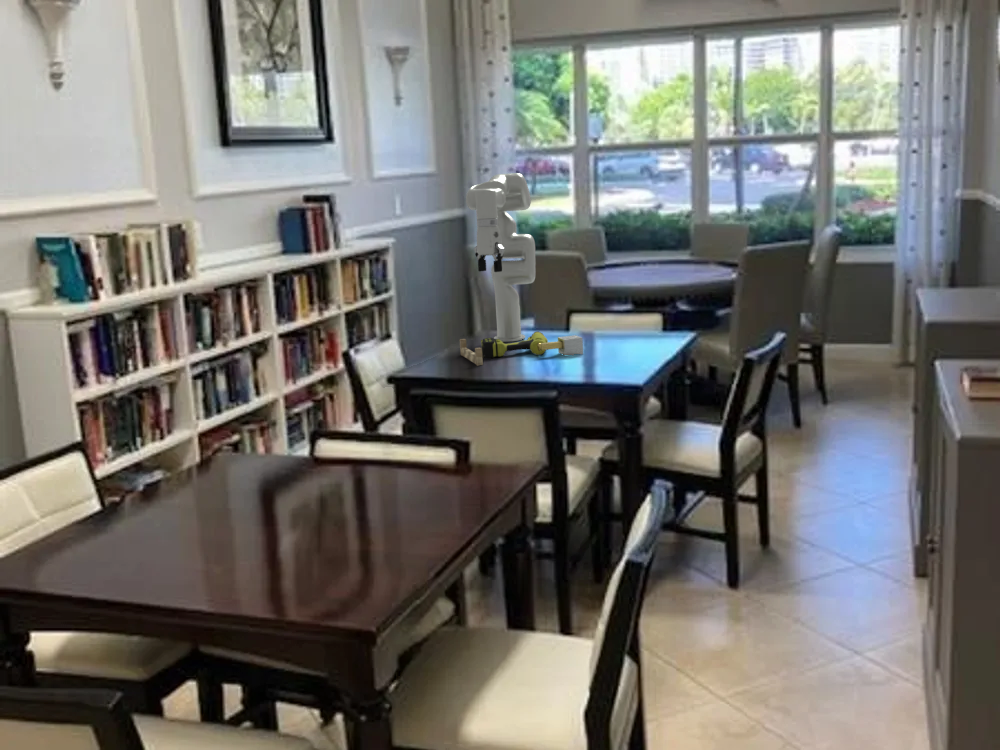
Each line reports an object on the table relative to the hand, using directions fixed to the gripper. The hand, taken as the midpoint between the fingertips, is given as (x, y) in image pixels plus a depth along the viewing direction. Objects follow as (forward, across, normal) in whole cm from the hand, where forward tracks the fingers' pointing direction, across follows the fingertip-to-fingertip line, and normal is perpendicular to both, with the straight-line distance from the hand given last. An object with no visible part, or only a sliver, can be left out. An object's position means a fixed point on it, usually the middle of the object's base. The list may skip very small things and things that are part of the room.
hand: (490, 271), depth 380 cm
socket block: (+32, -18, -21) cm, 42 cm away
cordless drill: (+32, +3, -12) cm, 34 cm away
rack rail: (+32, +3, +9) cm, 33 cm away
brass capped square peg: (+29, -16, -14) cm, 36 cm away
